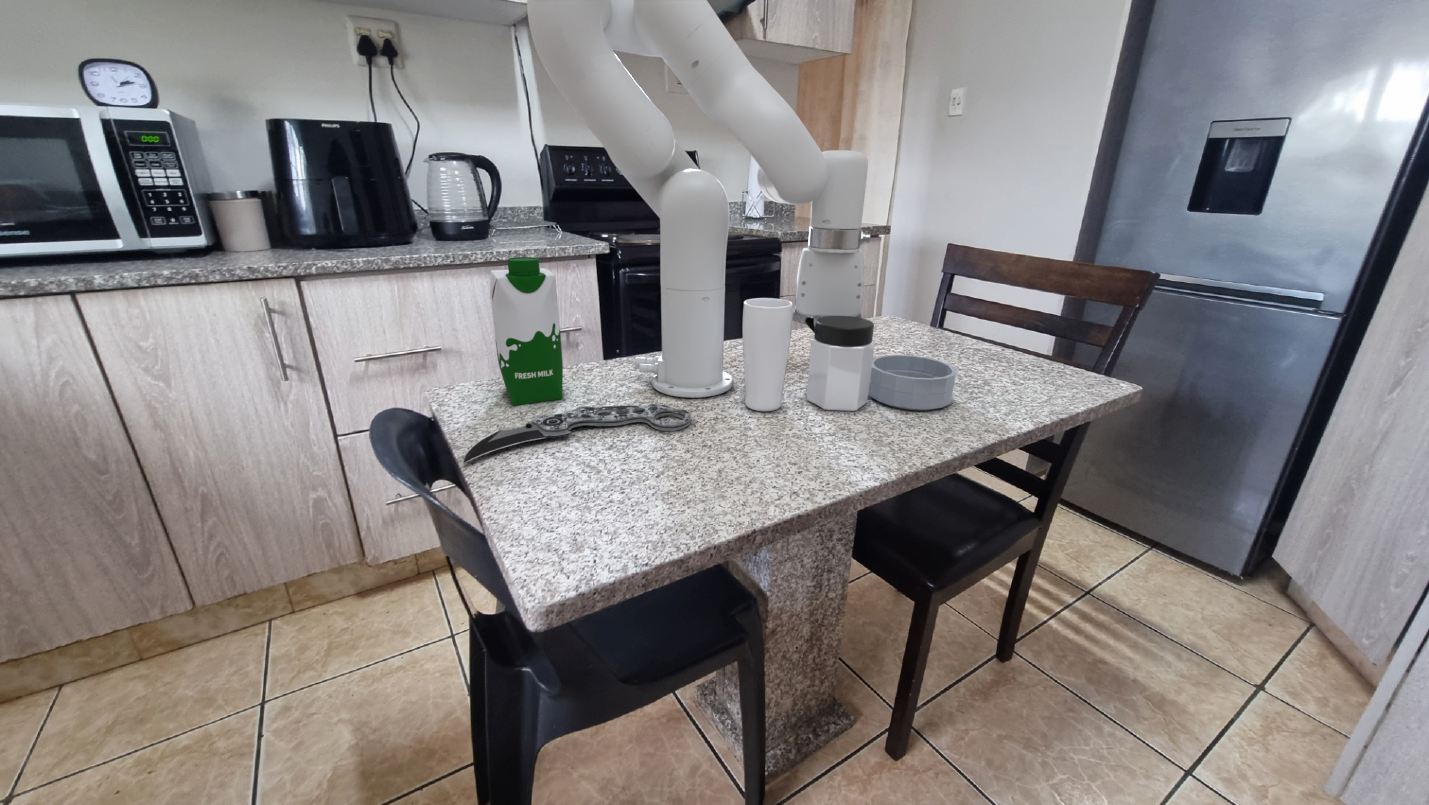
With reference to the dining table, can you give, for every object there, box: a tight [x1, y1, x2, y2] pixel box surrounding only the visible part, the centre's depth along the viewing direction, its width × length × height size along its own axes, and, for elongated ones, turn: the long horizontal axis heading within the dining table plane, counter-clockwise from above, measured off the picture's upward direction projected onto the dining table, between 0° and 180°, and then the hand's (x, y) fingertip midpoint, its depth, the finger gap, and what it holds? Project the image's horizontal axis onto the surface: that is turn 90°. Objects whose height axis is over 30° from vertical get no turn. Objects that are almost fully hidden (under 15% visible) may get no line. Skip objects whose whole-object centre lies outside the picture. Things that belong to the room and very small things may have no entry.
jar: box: [806, 316, 876, 412], centre depth 84 cm, size 9×8×12 cm
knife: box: [462, 403, 692, 464], centre depth 73 cm, size 28×2×10 cm
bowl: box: [868, 354, 958, 411], centre depth 87 cm, size 12×12×5 cm
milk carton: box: [489, 256, 564, 406], centre depth 83 cm, size 9×9×20 cm
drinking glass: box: [741, 297, 794, 412], centre depth 81 cm, size 7×7×15 cm
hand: (822, 358), depth 93 cm, fingers closed
